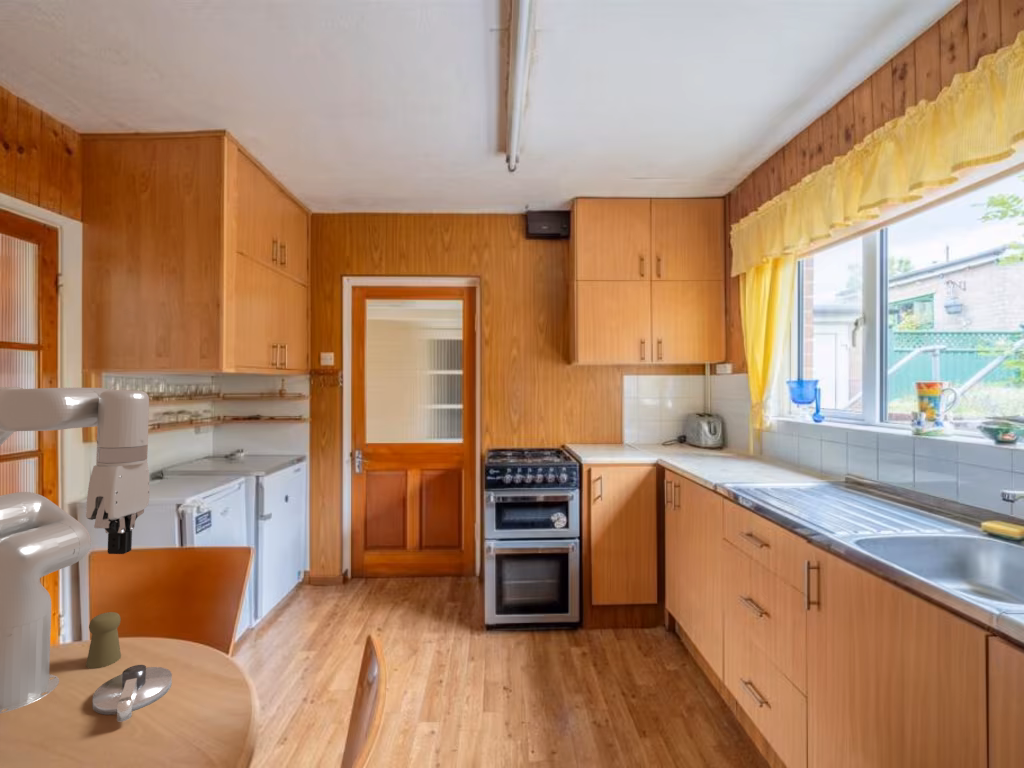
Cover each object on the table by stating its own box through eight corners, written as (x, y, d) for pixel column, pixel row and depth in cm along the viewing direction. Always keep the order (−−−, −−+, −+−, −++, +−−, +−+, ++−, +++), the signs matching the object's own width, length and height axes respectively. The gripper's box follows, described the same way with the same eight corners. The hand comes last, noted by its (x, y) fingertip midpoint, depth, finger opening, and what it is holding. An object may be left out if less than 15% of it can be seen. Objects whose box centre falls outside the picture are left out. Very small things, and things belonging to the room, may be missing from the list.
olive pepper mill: (100, 676, 100) (102, 623, 100) (77, 672, 101) (78, 619, 101) (129, 660, 106) (130, 610, 106) (106, 656, 107) (108, 607, 107)
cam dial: (100, 685, 95) (101, 662, 95) (174, 668, 102) (174, 647, 102) (77, 741, 81) (78, 714, 81) (165, 718, 87) (166, 693, 87)
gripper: (131, 449, 99) (128, 539, 99) (67, 461, 84) (63, 567, 84) (169, 450, 99) (166, 540, 99) (112, 462, 84) (108, 567, 84)
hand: (119, 552), depth 91 cm, fingers closed
